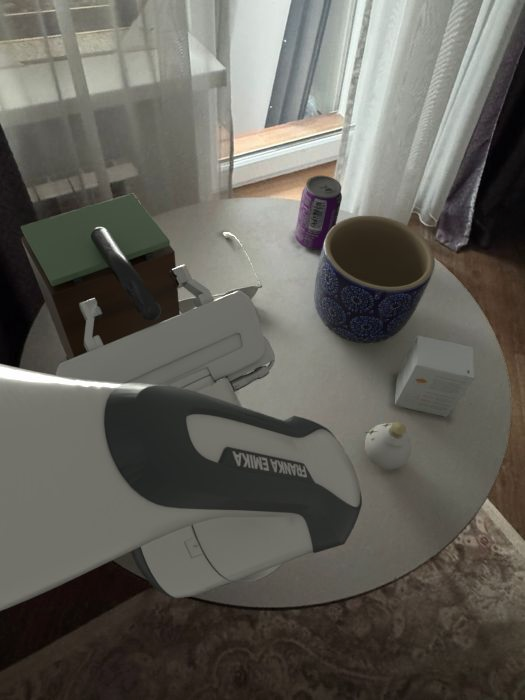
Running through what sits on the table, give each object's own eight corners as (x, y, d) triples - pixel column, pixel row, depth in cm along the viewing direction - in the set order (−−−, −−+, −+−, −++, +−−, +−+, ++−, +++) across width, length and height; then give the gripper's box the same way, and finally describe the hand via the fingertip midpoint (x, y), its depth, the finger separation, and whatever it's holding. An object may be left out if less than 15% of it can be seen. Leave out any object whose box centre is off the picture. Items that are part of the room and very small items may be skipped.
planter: (332, 366, 79) (352, 301, 67) (294, 291, 88) (306, 223, 76) (423, 343, 83) (458, 279, 71) (378, 275, 92) (402, 207, 80)
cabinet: (185, 372, 76) (175, 246, 56) (94, 414, 71) (48, 290, 51) (155, 327, 81) (136, 196, 61) (68, 362, 75) (17, 231, 56)
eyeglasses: (172, 319, 82) (170, 302, 79) (149, 246, 92) (146, 229, 89) (261, 300, 86) (263, 284, 83) (229, 233, 96) (230, 216, 93)
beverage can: (338, 244, 96) (352, 190, 87) (309, 257, 94) (320, 203, 84) (316, 223, 100) (327, 169, 90) (287, 235, 97) (295, 180, 87)
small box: (447, 388, 78) (475, 346, 70) (447, 418, 75) (476, 378, 66) (395, 376, 79) (417, 333, 70) (393, 406, 75) (415, 365, 67)
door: (215, 305, 51) (216, 285, 49) (90, 356, 46) (84, 338, 44) (133, 198, 61) (130, 178, 59) (22, 231, 56) (14, 211, 54)
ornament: (409, 473, 69) (434, 439, 61) (357, 480, 68) (376, 447, 60) (395, 434, 72) (417, 397, 64) (345, 440, 71) (362, 403, 63)
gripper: (293, 363, 50) (233, 239, 50) (96, 462, 42) (26, 314, 43) (270, 372, 56) (217, 260, 56) (93, 460, 48) (32, 330, 48)
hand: (133, 284), depth 49 cm, fingers open, 8 cm apart
